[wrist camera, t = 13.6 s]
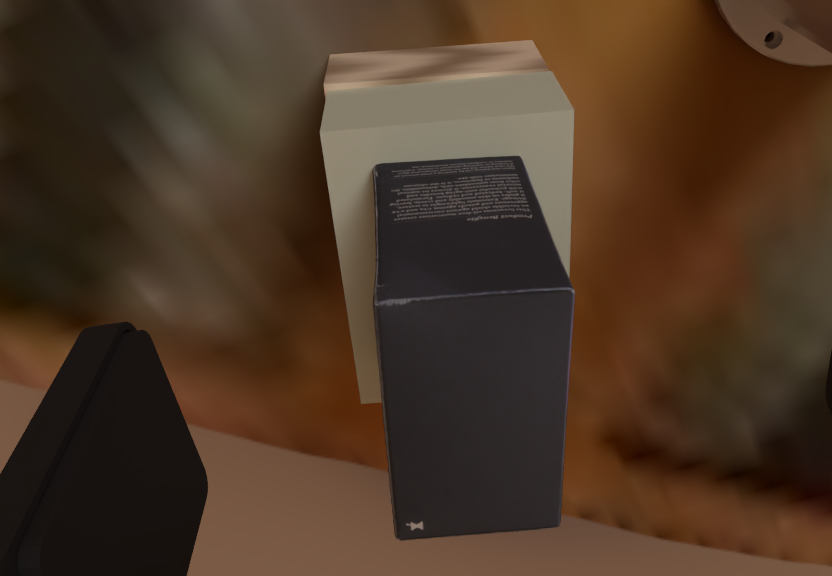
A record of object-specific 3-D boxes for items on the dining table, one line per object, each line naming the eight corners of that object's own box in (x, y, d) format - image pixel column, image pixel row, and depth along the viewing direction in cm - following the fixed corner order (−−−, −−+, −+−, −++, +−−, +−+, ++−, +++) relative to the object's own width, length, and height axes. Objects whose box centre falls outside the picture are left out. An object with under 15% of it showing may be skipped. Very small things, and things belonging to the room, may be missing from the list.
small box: (525, 359, 38) (568, 537, 29) (387, 368, 38) (388, 548, 29) (530, 150, 32) (587, 291, 23) (368, 161, 32) (362, 305, 23)
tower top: (551, 71, 35) (574, 109, 31) (548, 327, 43) (566, 387, 38) (327, 90, 35) (319, 132, 31) (363, 343, 43) (361, 403, 39)
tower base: (530, 38, 39) (548, 68, 35) (527, 277, 47) (541, 326, 43) (330, 52, 39) (323, 84, 35) (358, 289, 47) (355, 339, 43)
